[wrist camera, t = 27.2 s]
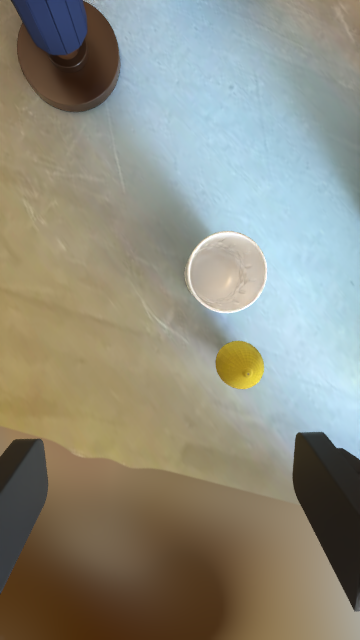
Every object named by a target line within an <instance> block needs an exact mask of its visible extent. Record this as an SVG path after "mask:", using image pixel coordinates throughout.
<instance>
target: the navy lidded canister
mask: <svg viewBox="0 0 360 640" xmlns="http://www.w3.org/2000/svg"><path fill="white" fill-rule="evenodd" d="M11 1H12V3H13V5H14V6H15V8H16V10H17V12H18V14H19V16H20V18H21V20H22V22H23V24H24V26H25V27H26V29H27V31H28V33H29V35H30V36H31V38H32V40H33V41H34V43H35V44H36V45H37V47H39V48H41V49H42V50H44V51H46V52H47V53H49V54H52V55H67V54H70V53H72V52H73V51H75V50H76V49H78V48H79V47H80V46H81V45H82V43H83V41H84V38H85V36H86V34H87V31H88V30H87V15H86V11H85V7H84V4H83V0H11ZM79 45H80V46H79Z"/></svg>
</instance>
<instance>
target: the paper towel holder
mask: <svg viewBox="0 0 360 640" xmlns="http://www.w3.org/2000/svg"><path fill="white" fill-rule="evenodd" d="M83 4H84V7H85V11H86V15H87V30H88V31H87V34H86V36H85V38H84V41H83V43H82V45H81V46H80V45H79V46H80V47H79V48H78V49H76V50H75V51H73V52H72V53H70V54H67V55H52V54H49V53H47V52H46V51H44V50H42V49H41V48H39V47H37V45H36V44H35V43H34V41H33V40H32V38H31V36H30V35H29V33H28V31H27V29H26V27H25V26H24V24H23V23H22V25H21V27H20V30H19V34H18V41H17V52H18V58H19V63H20V66H21V69H22V71H23V73H24V75H25V77H26V79H27V80H28V82H29V83H30V85H31V86H32V88H33V89H34V91H35V92H36V93H37V94H38V95H39V96H40V97H41V98H42V99H43V100H44V101H46V102H47V103H48V104H50V105H52V106H54V107H56V108H58V109H61V110H65V111H70V112H80V111H86V110H90V109H92V108H94V107H96V106H98V105H100V104H101V103H102V102H104V101H105V100H106V99H107V98H108V97H109V95H110V94H111V93H112V91H113V90H114V88H115V86H116V83H117V81H118V77H119V73H120V55H119V49H118V43H117V40H116V36H115V34H114V31H113V29H112V27H111V26H110V24H109V22H108V21H107V19H106V18H105V17H104V16H103V15H102V14H101V13H100V12H99V11H98V10H97V9H96V8H95V7H93V6H92V5H90V4H89V3H87V2H85V1H83Z"/></svg>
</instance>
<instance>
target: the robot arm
mask: <svg viewBox="0 0 360 640" xmlns="http://www.w3.org/2000/svg"><path fill="white" fill-rule="evenodd" d="M293 485H294V490H295V493H296V496H297V498H298V500H299V502H300V504H301V506H302V508H303V510H304V512H305V514H306V516H307V518H308V520H309V522H310V524H311V526H312V528H313V530H314V532H315V534H316V536H317V538H318V540H319V542H320V544H321V546H322V548H323V550H324V552H325V554H326V556H327V557H328V560H329V562H330V564H331V565H332V568H333V570H334V572H335V573H336V575H337V577H338V579H339V581H340V583H341V585H342V587H343V589H344V591H345V593H346V595H347V597H348V599H349V601H350V603H351V605H352V607H353V609H354V611H360V460H359V459H358V458H357V457H355V456H354V455H352V454H350V453H349V452H347V451H346V450H344V449H343V448H336V447H335V446H334V444H333V443H332V442H331V441H330V440H329V438H328V437H327V436H326V435H325V434H324V433H323V432H304V433H297V435H296V439H295V451H294V464H293ZM47 491H48V477H47V469H46V460H45V451H44V444H43V441H42V440H41V439H16V440H14V441H13V442H12V443H11V444H10V445H9V447H8V448H7V449H6V450H5V452H4V453H3V454H2V455H1V457H0V594H1V592H2V590H3V588H4V586H5V583H6V582H7V579H8V577H9V575H10V573H11V571H12V569H13V567H14V565H15V563H16V561H17V559H18V557H19V555H20V553H21V551H22V549H23V547H24V545H25V543H26V540H27V538H28V536H29V534H30V532H31V530H32V528H33V526H34V524H35V522H36V520H37V518H38V516H39V514H40V512H41V510H42V508H43V506H44V503H45V500H46V497H47Z"/></svg>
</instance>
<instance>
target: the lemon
mask: <svg viewBox="0 0 360 640" xmlns="http://www.w3.org/2000/svg"><path fill="white" fill-rule="evenodd" d="M216 369H217V373H218V374H219V376H220V378H221V379H222V380H223V381H224V382H225V383H226V384H228V385H229V386H231V387H233V388H237V389H247V388H250V387H252V386H254V385H256V384H257V383H258V382H259V381H260V379H261V378H262V375H263V372H264V363H263V359H262V357H261V354H260V353H259V352H258V350H257V349H256V348H255V347H253V346H252V345H251V344H249V343H246V342H243V341H233V342H230V343H227V344H226V345H224V346H223V347H222V348H221V349H220V350H219V352H218V354H217V357H216Z"/></svg>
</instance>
